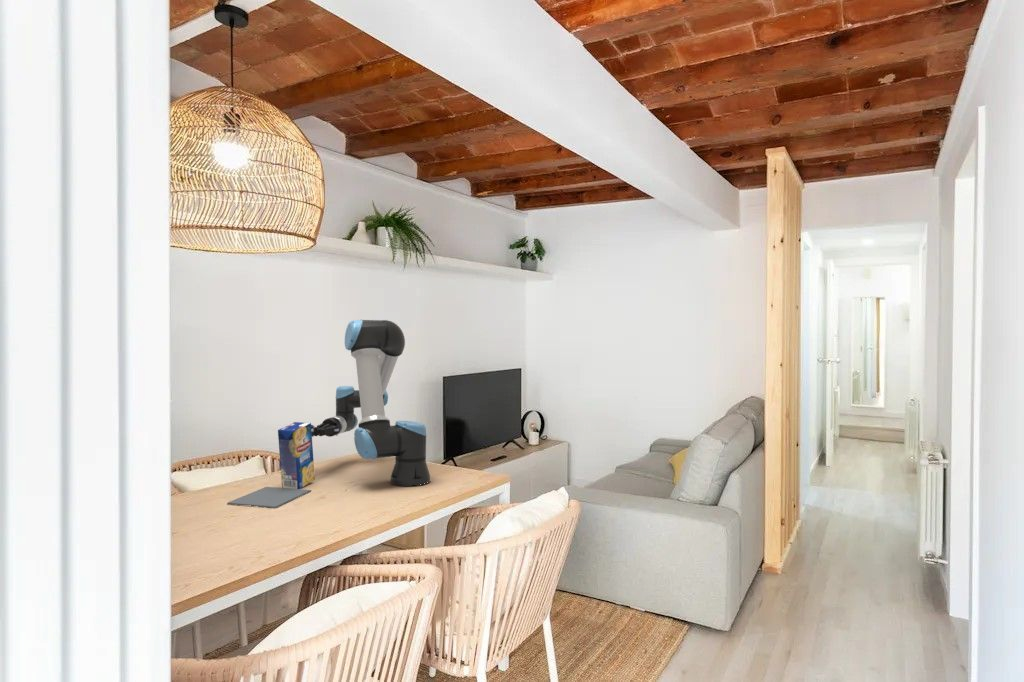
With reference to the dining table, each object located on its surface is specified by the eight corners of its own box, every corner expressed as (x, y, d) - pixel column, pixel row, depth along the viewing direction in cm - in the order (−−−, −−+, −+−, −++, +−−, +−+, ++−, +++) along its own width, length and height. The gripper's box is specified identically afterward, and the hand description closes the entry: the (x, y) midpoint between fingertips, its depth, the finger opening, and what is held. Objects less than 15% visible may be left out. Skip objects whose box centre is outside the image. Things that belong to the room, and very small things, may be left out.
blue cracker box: (314, 479, 244) (311, 422, 241) (298, 489, 234) (294, 431, 231) (298, 477, 246) (294, 422, 243) (282, 488, 236) (277, 430, 232)
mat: (310, 491, 231) (310, 489, 231) (275, 508, 210) (275, 506, 210) (266, 488, 235) (266, 486, 235) (227, 504, 214) (227, 502, 214)
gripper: (348, 436, 265) (318, 446, 242) (319, 434, 268) (287, 444, 245) (348, 417, 265) (318, 426, 242) (319, 416, 268) (287, 424, 245)
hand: (302, 435), depth 243 cm, fingers closed
